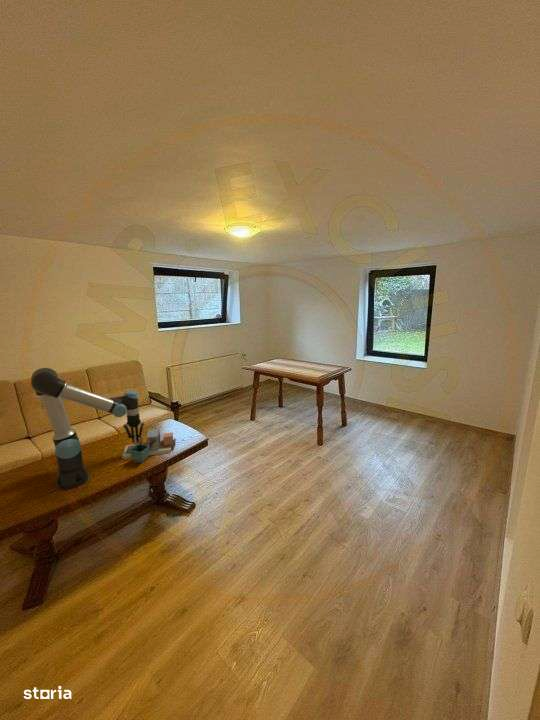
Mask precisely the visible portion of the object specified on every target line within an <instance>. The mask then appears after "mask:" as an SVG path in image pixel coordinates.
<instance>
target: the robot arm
mask: <svg viewBox="0 0 540 720" xmlns="http://www.w3.org/2000/svg"><path fill="white" fill-rule="evenodd" d="M30 386H31V388H32V389H33V390H34V392H35V394H36V396H38V397H39V398H41V401H42V403H43V406H44V409H45V412H46V415H47V418H48V420H49V423H50V426H51V429H52V431H53V434H54V435H53V436H52V437H51V438H52V441H53V445H54V448H55V451H54V452H55V455H56V461H57V467H58V468H57V469H58V475H57V478H56V487H57V489H60V490H71V489H73V488H78V487H79V486H81V485H83V484H85V483H86V482H87V481H88V480H89V477H90V476H89V472H88V470H87V469H86V467H85V465H84V460H83V452H82V443H81V442H80V438H79V436H78V433H77V432H76V429H74V428H72V426H71V423H70V420H69V417H68V414H67V411H66V408H65V406H64V402H63V400H62V399H65V400H68V401H71V402H74V403H78V404H80V405H84V406H87V407H91V408H93V409H96V410H100V411H103V412H105V413H108V414H111V415H113V416H114V417H115V418H122V417H123V416H125V415H126V423H124V424H123V428H124V429H125V432H126V434H127V437H128V438H129V439H131V440H132V444H133V445H135V446H136V445H138V444H139V443H138V442H139V439H140V437H142V432H143V427H144V425H145V422H143V421H141V418H140V409H139V397H138V392H137V391H136V390H127V391H125V392H124V395H121V396H115V397H109V398H108V397H105V396H104V395H99V394H97V393H95V392H91V391H89V390H85V389H82V388H79V387H77V386H74V385H71V384H69V383H68V382H67V381H66V380H63V379H61V378H59V375H58V372H57V371H56V370H54V369H53V368H50V367H41V368H38V369H36V370H35V371H33V373H32V374H31V377H30ZM139 426H140V429H139Z"/></svg>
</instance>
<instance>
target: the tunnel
mask: <svg viewBox="0 0 540 720" xmlns="http://www.w3.org/2000/svg"><path fill="white" fill-rule="evenodd" d="M160 432H161V430H160V428H154V429H153V428H152V429H148V431H147V435H146V443H147V445H149V443H151V442H156V444H157V447H155V448H150V446H149V451H157V450H159V443H158V442H159V441H161V433H160Z"/></svg>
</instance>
